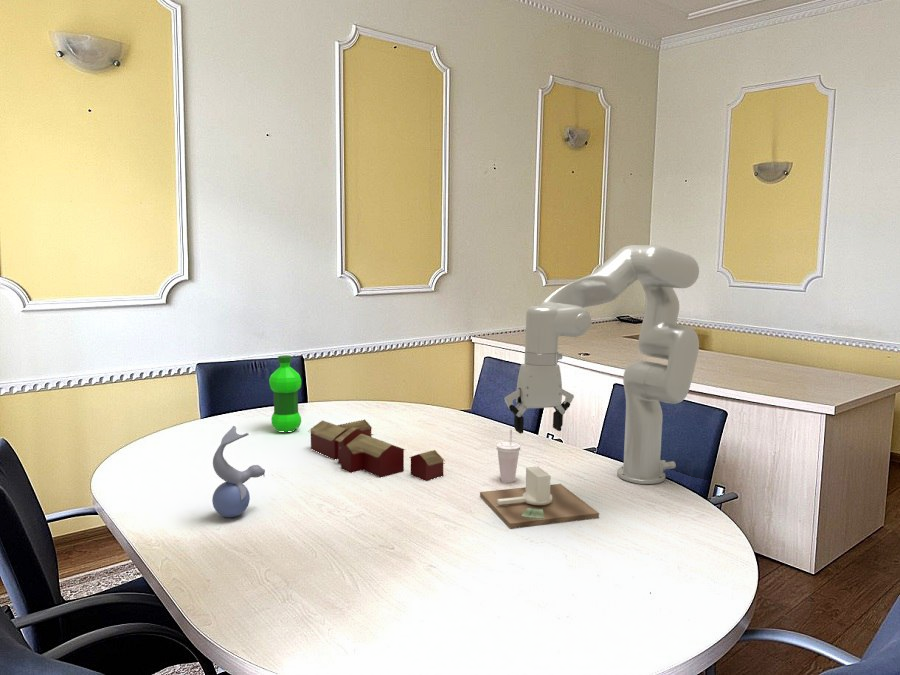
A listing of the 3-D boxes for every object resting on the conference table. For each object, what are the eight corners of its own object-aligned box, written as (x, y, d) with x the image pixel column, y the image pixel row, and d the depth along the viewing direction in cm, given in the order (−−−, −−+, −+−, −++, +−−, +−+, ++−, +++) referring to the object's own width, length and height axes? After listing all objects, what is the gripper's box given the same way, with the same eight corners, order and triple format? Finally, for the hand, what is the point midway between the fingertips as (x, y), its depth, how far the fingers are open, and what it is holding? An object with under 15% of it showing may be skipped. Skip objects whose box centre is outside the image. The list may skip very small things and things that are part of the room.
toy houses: (302, 452, 208) (302, 419, 207) (359, 439, 222) (359, 408, 220) (394, 493, 175) (394, 455, 174) (454, 475, 189) (454, 439, 187)
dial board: (560, 488, 179) (560, 482, 179) (598, 517, 160) (599, 512, 160) (479, 496, 173) (480, 491, 172) (510, 528, 154) (510, 522, 154)
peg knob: (544, 493, 170) (545, 465, 169) (557, 503, 164) (558, 474, 163) (493, 498, 167) (493, 470, 166) (503, 509, 160) (504, 480, 159)
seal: (273, 512, 161) (271, 429, 159) (221, 526, 154) (217, 438, 151) (258, 501, 168) (255, 421, 165) (207, 514, 160) (203, 430, 157)
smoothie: (518, 485, 181) (519, 433, 179) (494, 483, 182) (495, 431, 180) (521, 477, 187) (522, 426, 185) (497, 475, 188) (498, 425, 186)
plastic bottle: (299, 435, 224) (297, 359, 221) (266, 435, 225) (264, 359, 221) (305, 427, 234) (304, 354, 231) (274, 426, 235) (272, 353, 231)
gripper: (567, 355, 167) (564, 424, 170) (500, 357, 162) (498, 428, 165) (582, 360, 160) (578, 432, 163) (512, 363, 155) (510, 437, 157)
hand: (538, 430), depth 164 cm, fingers open, 9 cm apart
